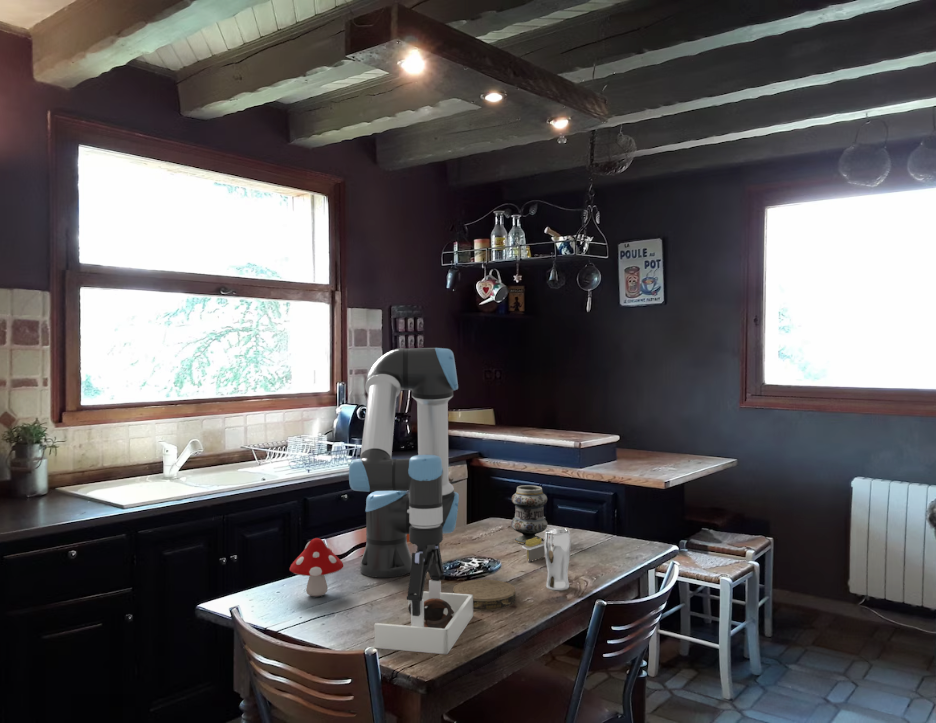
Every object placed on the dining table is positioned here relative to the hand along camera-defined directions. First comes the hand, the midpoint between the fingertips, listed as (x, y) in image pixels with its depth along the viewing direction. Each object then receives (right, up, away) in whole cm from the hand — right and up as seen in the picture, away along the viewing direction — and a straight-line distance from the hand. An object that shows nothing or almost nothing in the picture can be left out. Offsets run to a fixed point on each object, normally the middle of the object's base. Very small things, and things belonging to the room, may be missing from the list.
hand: (426, 618), depth 168 cm
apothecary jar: (+30, -2, +80) cm, 86 cm away
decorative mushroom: (-30, -3, +26) cm, 39 cm away
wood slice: (+13, -3, +21) cm, 26 cm away
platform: (+29, -3, +58) cm, 65 cm away
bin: (0, -3, 0) cm, 3 cm away
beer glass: (+33, -2, +31) cm, 46 cm away
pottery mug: (+1, -3, 0) cm, 3 cm away
